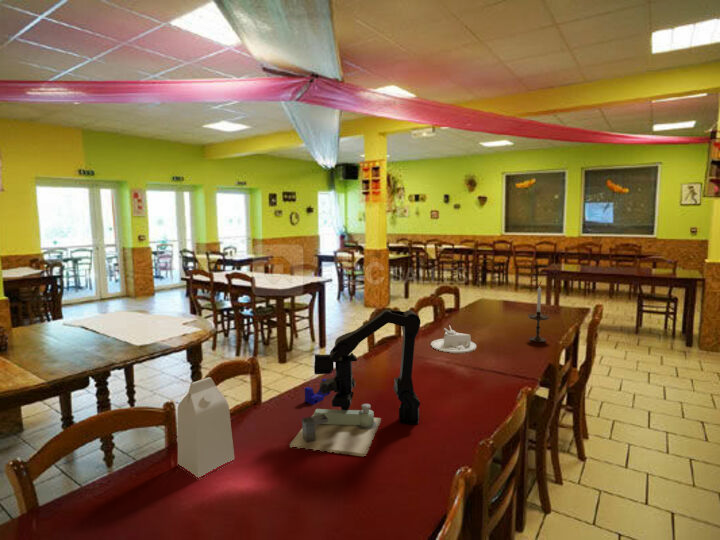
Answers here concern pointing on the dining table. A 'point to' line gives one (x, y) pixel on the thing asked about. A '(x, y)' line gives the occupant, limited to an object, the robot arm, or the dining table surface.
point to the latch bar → (349, 416)
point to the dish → (454, 342)
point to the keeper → (312, 426)
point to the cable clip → (314, 395)
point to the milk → (204, 429)
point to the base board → (339, 438)
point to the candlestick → (538, 318)
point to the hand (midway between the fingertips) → (344, 414)
